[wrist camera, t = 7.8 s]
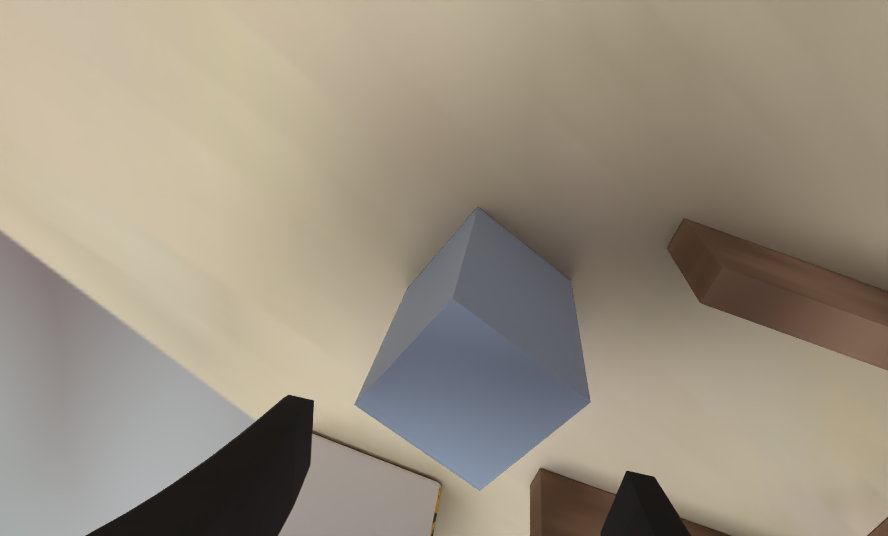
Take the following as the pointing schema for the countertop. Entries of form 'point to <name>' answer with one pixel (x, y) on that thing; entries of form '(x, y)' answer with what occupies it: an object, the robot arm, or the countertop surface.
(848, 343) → the walnut bay
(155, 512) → the robot arm
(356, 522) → the medicine bottle
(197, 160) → the countertop surface
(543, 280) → the blue block
